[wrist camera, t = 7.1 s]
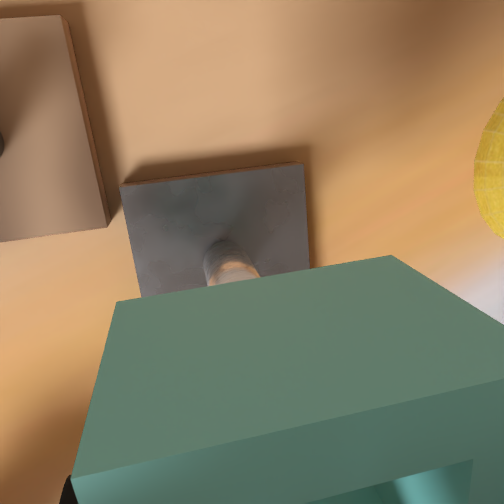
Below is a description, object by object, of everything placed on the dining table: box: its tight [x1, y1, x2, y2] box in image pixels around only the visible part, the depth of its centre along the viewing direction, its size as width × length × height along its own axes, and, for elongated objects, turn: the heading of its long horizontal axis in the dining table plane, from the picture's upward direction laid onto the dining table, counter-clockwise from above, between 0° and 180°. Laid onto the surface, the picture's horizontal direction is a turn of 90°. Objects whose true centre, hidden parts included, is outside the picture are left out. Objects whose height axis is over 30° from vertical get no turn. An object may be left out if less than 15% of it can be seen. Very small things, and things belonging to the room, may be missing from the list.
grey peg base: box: [119, 162, 310, 297], centre depth 21 cm, size 10×10×8 cm
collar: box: [70, 255, 504, 504], centre depth 9 cm, size 7×7×5 cm
